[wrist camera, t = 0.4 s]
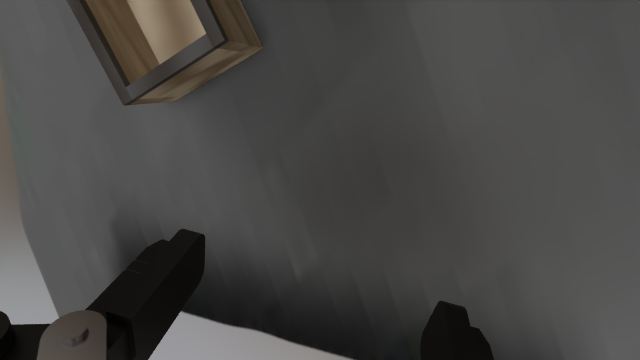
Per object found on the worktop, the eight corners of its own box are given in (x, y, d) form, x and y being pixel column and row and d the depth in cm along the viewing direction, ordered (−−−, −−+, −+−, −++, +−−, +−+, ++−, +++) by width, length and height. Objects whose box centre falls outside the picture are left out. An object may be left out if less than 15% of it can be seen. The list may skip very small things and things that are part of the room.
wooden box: (206, -73, 27) (150, -113, 22) (263, 48, 29) (224, 40, 23) (121, -4, 31) (54, -23, 25) (175, 101, 32) (123, 105, 26)
